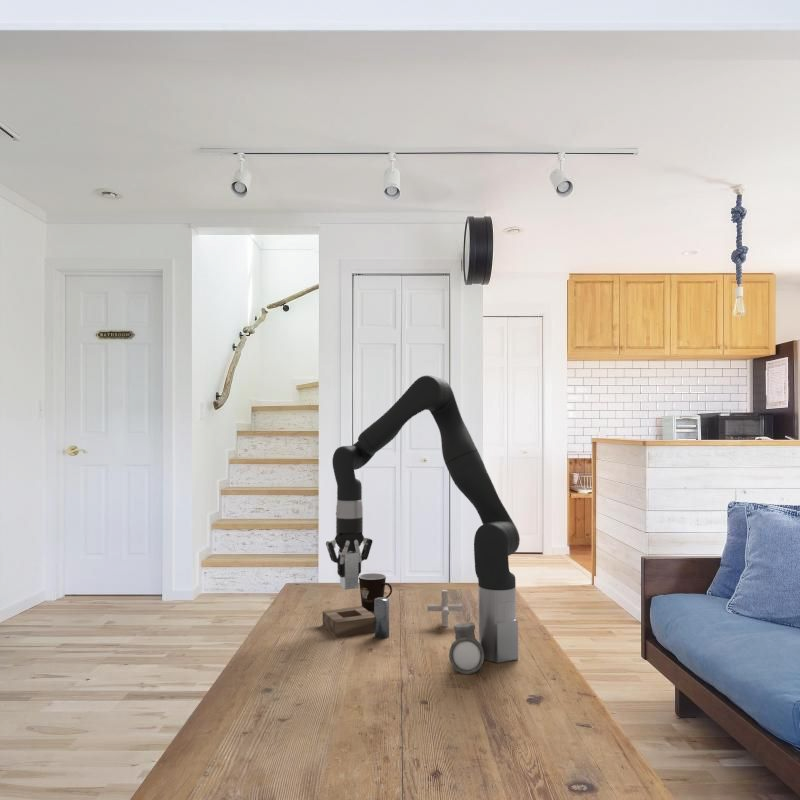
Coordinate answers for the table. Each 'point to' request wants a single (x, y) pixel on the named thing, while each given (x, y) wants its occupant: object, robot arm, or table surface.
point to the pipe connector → (445, 608)
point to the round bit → (381, 617)
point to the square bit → (350, 571)
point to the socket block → (349, 621)
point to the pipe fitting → (466, 650)
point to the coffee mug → (372, 589)
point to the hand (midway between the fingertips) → (349, 575)
